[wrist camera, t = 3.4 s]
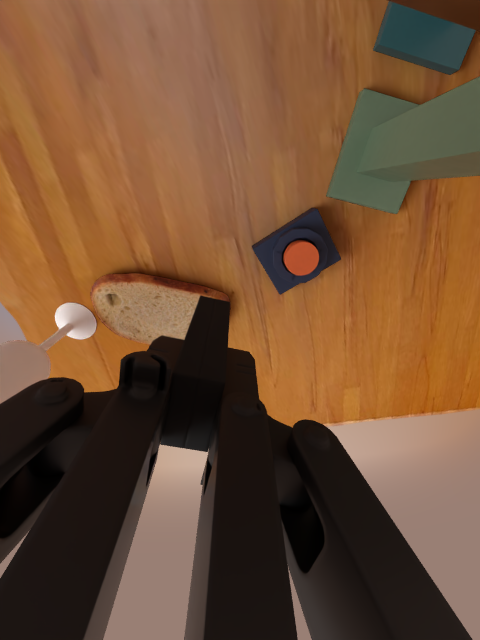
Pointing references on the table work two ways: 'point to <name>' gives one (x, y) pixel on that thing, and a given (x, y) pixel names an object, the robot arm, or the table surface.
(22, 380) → the champagne flute
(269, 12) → the table surface
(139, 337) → the bread slice
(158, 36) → the table surface
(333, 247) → the push button switch
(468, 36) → the low stand
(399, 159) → the stand
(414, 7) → the rectangular bar
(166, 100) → the table surface
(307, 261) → the button
